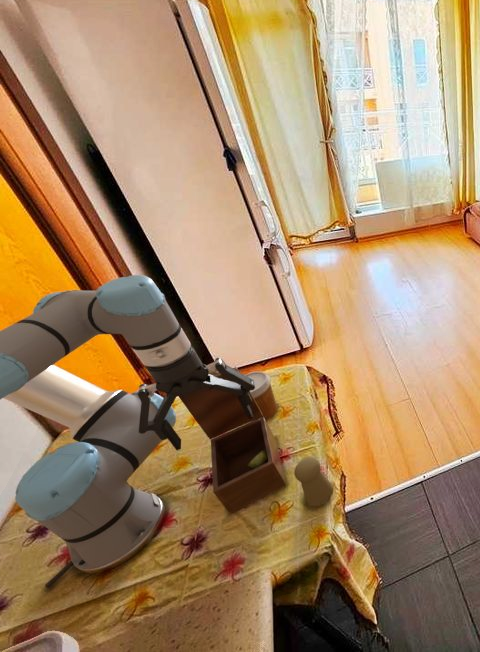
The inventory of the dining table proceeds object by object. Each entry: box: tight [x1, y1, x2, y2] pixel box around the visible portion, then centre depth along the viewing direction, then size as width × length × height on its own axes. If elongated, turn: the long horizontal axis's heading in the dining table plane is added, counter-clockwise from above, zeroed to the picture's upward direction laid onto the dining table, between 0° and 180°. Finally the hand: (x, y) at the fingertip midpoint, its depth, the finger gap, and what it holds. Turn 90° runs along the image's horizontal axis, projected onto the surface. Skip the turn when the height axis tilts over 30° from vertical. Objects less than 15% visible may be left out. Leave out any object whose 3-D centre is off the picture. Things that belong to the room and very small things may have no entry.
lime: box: [247, 449, 268, 469], centre depth 87 cm, size 4×5×5 cm
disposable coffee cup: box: [244, 371, 278, 421], centre depth 102 cm, size 10×10×12 cm
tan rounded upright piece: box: [294, 456, 334, 507], centre depth 80 cm, size 6×6×11 cm
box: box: [210, 417, 287, 515], centre depth 86 cm, size 16×12×9 cm
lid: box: [177, 366, 263, 440], centre depth 86 cm, size 17×12×6 cm
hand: (216, 429), depth 79 cm, fingers open, 13 cm apart
